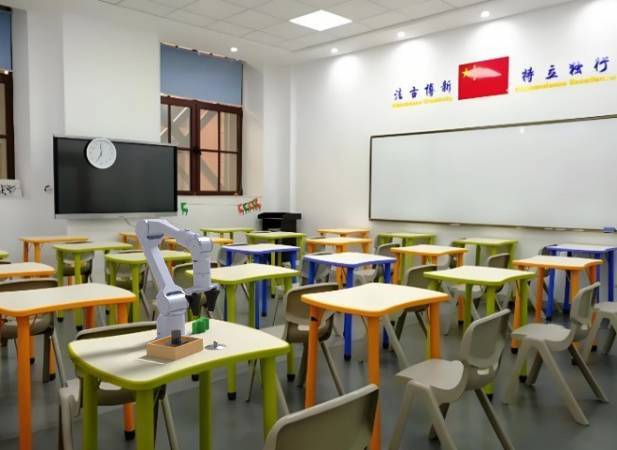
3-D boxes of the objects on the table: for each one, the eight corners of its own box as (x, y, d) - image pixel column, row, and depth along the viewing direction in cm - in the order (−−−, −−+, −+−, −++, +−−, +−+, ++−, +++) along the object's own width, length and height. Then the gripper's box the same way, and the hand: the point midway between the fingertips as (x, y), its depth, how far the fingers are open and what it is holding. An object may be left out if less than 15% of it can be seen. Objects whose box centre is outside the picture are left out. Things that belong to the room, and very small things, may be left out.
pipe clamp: (202, 335, 181) (201, 323, 181) (192, 335, 182) (191, 323, 182) (211, 328, 192) (211, 316, 192) (202, 328, 193) (202, 316, 193)
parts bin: (146, 356, 156) (146, 343, 156) (174, 346, 167) (174, 334, 167) (175, 361, 150) (175, 348, 150) (203, 350, 161) (202, 338, 161)
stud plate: (200, 349, 163) (199, 342, 163) (214, 344, 169) (214, 337, 169) (217, 352, 159) (216, 344, 159) (230, 346, 166) (230, 339, 165)
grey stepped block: (165, 353, 157) (164, 332, 157) (174, 349, 162) (174, 328, 161) (178, 355, 155) (177, 333, 155) (188, 350, 160) (187, 329, 160)
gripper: (196, 276, 160) (198, 318, 160) (225, 270, 173) (226, 310, 173) (179, 275, 164) (181, 317, 164) (209, 270, 176) (210, 308, 177)
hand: (203, 313), depth 169 cm, fingers open, 7 cm apart
